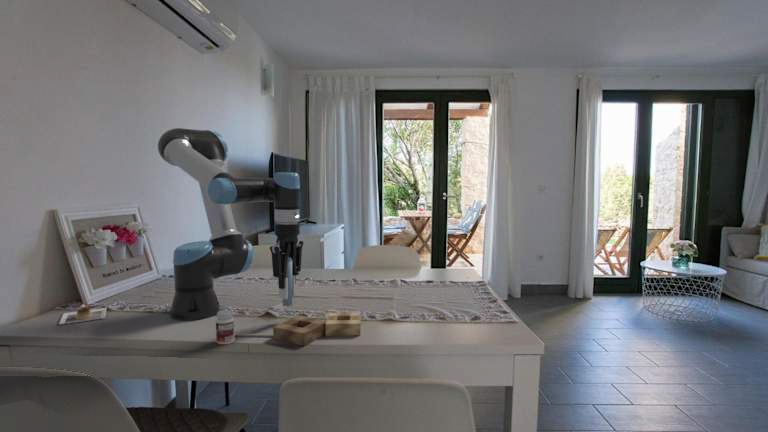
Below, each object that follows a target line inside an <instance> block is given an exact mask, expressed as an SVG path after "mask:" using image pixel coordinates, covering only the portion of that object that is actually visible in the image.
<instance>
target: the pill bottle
mask: <svg viewBox="0 0 768 432" xmlns="http://www.w3.org/2000/svg"><path fill="white" fill-rule="evenodd" d="M215 333H216V335H215V336H216V343H217V344H219V345H228V344H229V345H230V344H232V343H234V342H235V337H236V336H235V334H236V333H235V318H234V316H233V310H230V309H224V310H220V311H219V312H217V314H216V320H215Z"/></svg>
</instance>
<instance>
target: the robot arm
mask: <svg viewBox="0 0 768 432" xmlns="http://www.w3.org/2000/svg"><path fill="white" fill-rule="evenodd" d="M228 148H229V147H228V143H227V142H226V140H225V137H224V136H223V135H222V134H221V133H219V132H217V131H213V130H212V131H211V130H208V129H207V130H206V129H204V130H203V129H192V128H191V129H189V128H180V127H178V128H177V127H176V128H172V129H169V130H167V131H165V132H164V133H162V135H161V136H160V137H159V139H158V142H157V151H158V154H159V156H160V157H161V158H162V159H163V160H164V162H166V163H168V164H169V165H170V166H173V167H178V168H179V169H181V170H182V171H183V172H184V173H186V174H187V175H189V176H190V177H191V178H192V179H194V180H195V181H196V182H198V184H199V189H200V194H201V197H202V203H203V206H204V209H205V214H206V218H207V222H208V226H209V230H210V235H211V237H210V238H209V239H208V240H200V241H198V240H197V241H192V242H191V241H190V242H188V243H183V244H181V245H179V246H177V247H176V248H175V249H174V250H173V260H172V264H173V276H174V296H173V299H172V302H171V306H170V309H169V316H170V318H171V319H173V320H179V321H195V320H196V321H197V320H201V319H207V318H209V317H213V316H215V315H217V312H219V311H221V310H220V307H221V305H220V302H219V300H218V297H217V295H216V291H215V289H214V279H218V278H222V277H226V276H227V277H228V276H233V275H239V274H240V273H245V272H246V271H248V270H250V268H251V266H252V263H253V262H254V256H255V255H254V248H253V245H252V243H251V242H250V241H249V240H247V239H244V237H243V234H242V233H241V231H239V230H237V228H236V227H237V226H236V223H235V219H234V214H233V212H232V206H231V204H245V203H262V202H266V203H269V202H270V203H274V222H275V224H274V235H275V236H276V244H274V245H271V246H270V247H269V251H270V254H271V264H272V265H271V266H272V276H273V278H278V279H277V280H278V289H279V290H278V291H279V297H278V299H282V300H283V299H288V278H286V270H287V260H288V256H289V257H291V259H292V297H295V296H296V283H297V276H299V275H300V272H301V270H302V254H303V247H304V246H303V245H304V240H303V241H302V240H299V239H298V238H299V237H298V236H300V231H301V230H300V229H301V228H300V223H299V222H300V207H301V205H300V203H301V202H300V200H301V199H300V198H301V197H300V195H301V194H300V191H301V190H300V189H301V183H300V175H299V174H298V173H297V172H280V171H279V172H278V171H277V172H275V173H274V177H273V178H272V177H262V176H261V177H259V176H257V177H235V176H233V175H232V174H230V173H228V172H227V171H225V170H224V169H223V166H225V161H226V160H227V157H228V153H229V149H228Z"/></svg>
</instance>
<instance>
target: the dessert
mask: <svg viewBox="0 0 768 432" xmlns="http://www.w3.org/2000/svg"><path fill="white" fill-rule="evenodd" d="M96 312H101V314H100V317H97V318H92V317H93V314H92V313H96ZM106 314H107V307H100V308H93V309H90V307H88V306H86V304H81V305H80V308H77V310H76V311H71V312H64V313H63V314H62V316H61V318H60V320H59V322H58V325H59V326H60V325H62V326H63V325H69V324H71V325H72V324H76V323H77V324H78V323H84V322H90V321H98V320H103V319H105V318H106ZM72 315H76V316H75V321H69V322H66V321H67V318H68V316H72ZM89 318H90V319H89Z"/></svg>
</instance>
